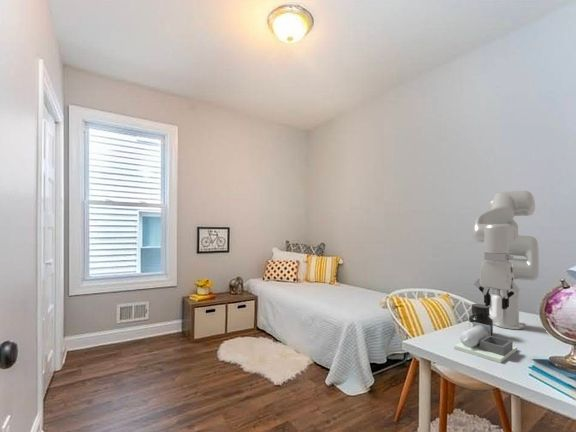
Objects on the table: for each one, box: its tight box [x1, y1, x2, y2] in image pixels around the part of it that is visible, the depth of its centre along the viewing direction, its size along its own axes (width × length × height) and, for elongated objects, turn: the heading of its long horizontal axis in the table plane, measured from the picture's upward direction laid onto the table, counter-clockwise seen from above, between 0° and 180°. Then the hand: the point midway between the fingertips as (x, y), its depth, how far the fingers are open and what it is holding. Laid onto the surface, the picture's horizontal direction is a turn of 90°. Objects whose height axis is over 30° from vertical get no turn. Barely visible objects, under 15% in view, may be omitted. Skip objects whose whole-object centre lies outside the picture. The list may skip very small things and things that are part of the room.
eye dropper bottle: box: [489, 288, 503, 319], centre depth 116 cm, size 4×6×12 cm
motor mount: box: [453, 322, 518, 364], centre depth 118 cm, size 18×15×7 cm
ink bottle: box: [468, 303, 494, 336], centre depth 136 cm, size 10×9×12 cm
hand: (496, 306), depth 116 cm, fingers closed on eye dropper bottle, 4 cm apart
